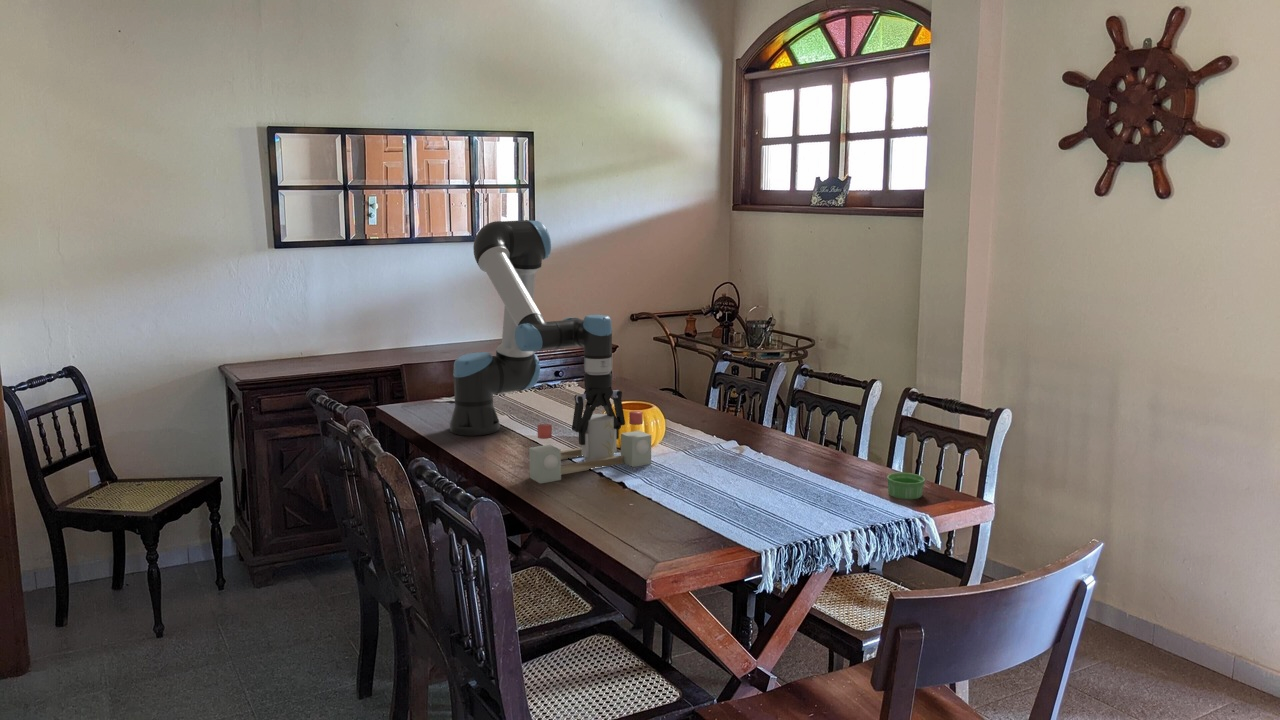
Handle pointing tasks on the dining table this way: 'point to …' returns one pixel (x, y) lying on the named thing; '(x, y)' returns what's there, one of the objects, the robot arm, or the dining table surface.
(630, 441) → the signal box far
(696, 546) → the dining table surface
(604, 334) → the robot arm
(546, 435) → the block
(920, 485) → the ramekin
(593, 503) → the dining table surface
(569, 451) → the channel
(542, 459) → the block
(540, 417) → the dining table surface
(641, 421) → the block
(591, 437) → the grey upright cylinder
